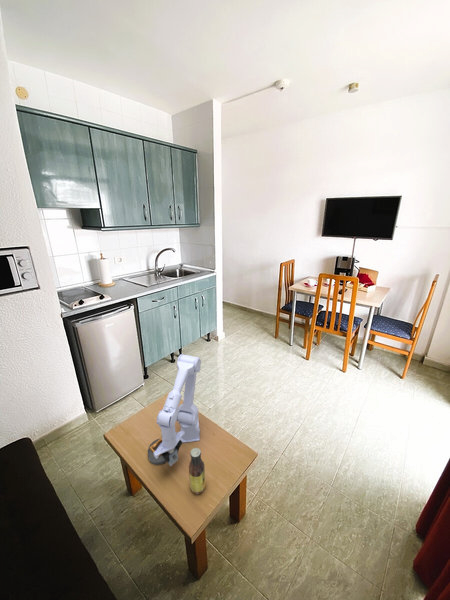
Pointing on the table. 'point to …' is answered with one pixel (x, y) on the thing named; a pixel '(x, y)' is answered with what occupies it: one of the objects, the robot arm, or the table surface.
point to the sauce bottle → (196, 472)
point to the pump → (172, 456)
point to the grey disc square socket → (152, 449)
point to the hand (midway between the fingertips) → (171, 457)
